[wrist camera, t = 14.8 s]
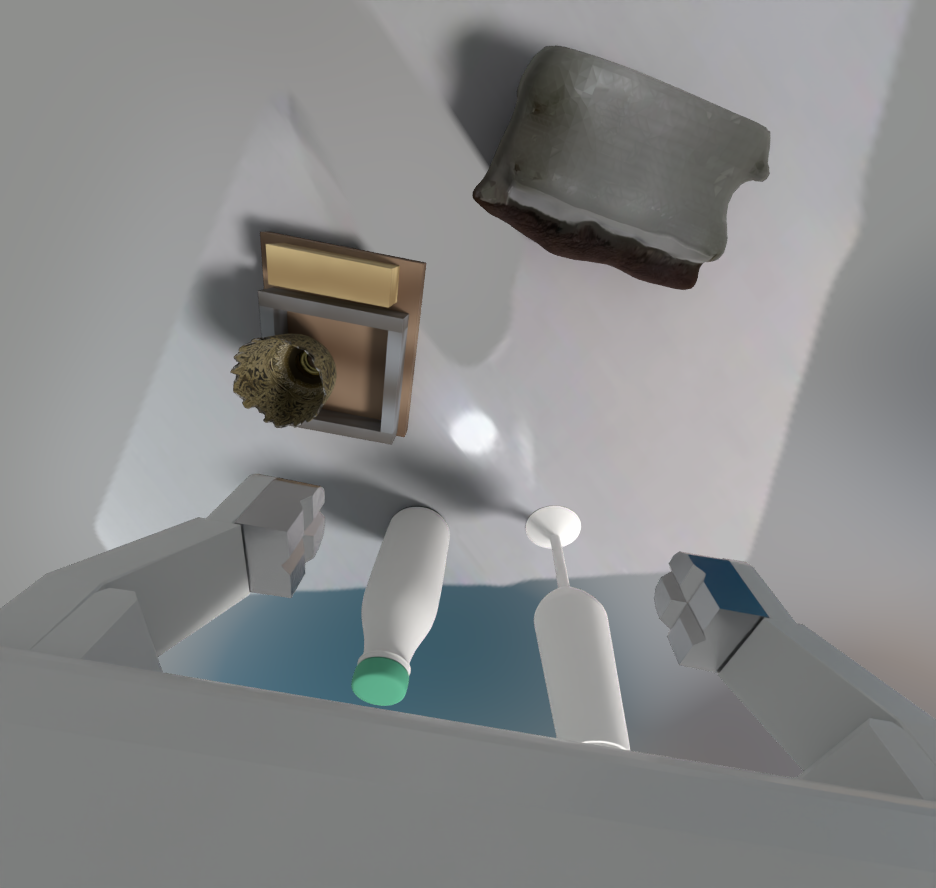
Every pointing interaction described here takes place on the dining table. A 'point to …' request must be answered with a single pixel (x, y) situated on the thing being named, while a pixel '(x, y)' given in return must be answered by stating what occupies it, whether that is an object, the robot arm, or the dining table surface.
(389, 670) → the milk bottle
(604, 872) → the robot arm
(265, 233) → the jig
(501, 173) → the rock
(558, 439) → the dining table surface
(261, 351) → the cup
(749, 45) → the dining table surface
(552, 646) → the champagne flute
